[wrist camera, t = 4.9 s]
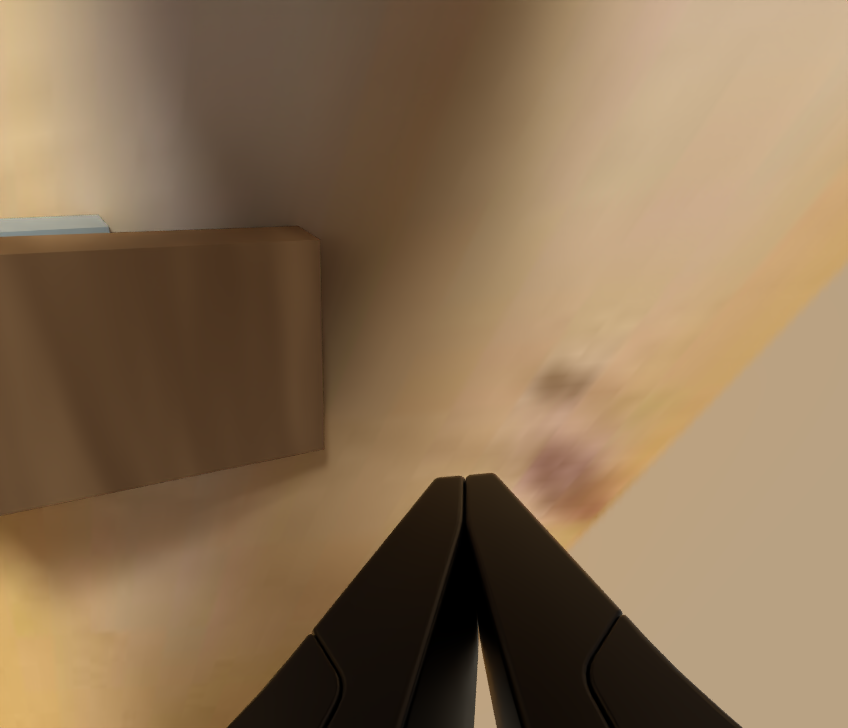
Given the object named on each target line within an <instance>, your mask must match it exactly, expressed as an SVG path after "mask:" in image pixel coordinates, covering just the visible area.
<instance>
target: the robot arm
mask: <svg viewBox="0 0 848 728" xmlns="http://www.w3.org/2000/svg"><path fill="white" fill-rule="evenodd" d="M478 627H479V634H480V641H481V647H482V653H483V659H484V664H485V669H486V674H487V679H488V685H489V689H490V695H491V700H492V704H493V710H494V715H495V720H496V725H497V728H742V727H741V726H740V725H739V724H737V723H736V722H735V721H734V720H733V719H732V718H731V717H729V716H728V715H727V714H726V713H725V712H724V711H723V710H721V709H720V708H719V707H718V706H717V705H716V704H715V703H714V702H713V701H711V700H710V699H709V698H708V697H707V696H706V695H705V694H704V693H703V692H701V690H699V689H698V688H697V687H696V686H695V685H694V684H693V683H692V682H691V681H689V680H688V679H687V678H686V677H685V676H684V675H683V674H682V673H681V672H680V671H679V670H678V669H677V668H676V667H675V666H674V665H673V664H672V663H671V662H670V661H669V660H668V659H667V658H666V657H665V656H664V655H663V654H662V653H661V652H660V651H659V650H658V649H657V648H656V647H655V646H654V645H653V644H652V643H651V642H650V641H649V640H648V639H647V638H646V637H645V636H644V635H643V634H642V632H640V630H639V629H638V628H637V627H636V626H635V625H634V624H633V623H632V621H631V620H630V619H629V618H628V617H627V616H626V615H622V611H621V610H620V609H619V608H618V607H617V606H616V604H615V603H614V602H613V601H612V600H611V599H610V598H609V597H608V596H607V595H606V594H605V593H604V591H603V590H601V588H600V587H599V586H598V585H597V584H596V583H595V582H594V581H593V580H592V578H591V577H590V576H589V575H588V574H587V573H586V572H585V571H584V570H583V569H582V568H581V567H580V566H579V564H578V563H577V562H576V561H575V560H574V559H573V558H572V557H571V556H570V555H569V554H568V552H567V551H566V550H565V549H564V548H563V547H562V546H561V545H560V544H559V543H558V542H557V540H556V539H555V538H554V537H553V536H552V535H551V534H550V533H549V532H548V531H547V530H546V529H545V527H544V526H543V525H542V524H541V523H540V522H539V521H538V520H537V519H536V518H535V517H534V516H533V514H532V513H531V512H530V511H529V510H528V509H527V508H526V507H525V506H524V505H523V504H522V503H521V501H520V500H519V499H518V498H517V497H516V496H515V495H514V494H513V493H512V492H511V491H510V490H509V488H508V487H507V486H506V485H505V484H504V483H503V482H502V481H501V480H500V479H499V478H498V477H497V475H495V474H493V473H485V474H474V475H469V476H467V477H466V480H465V479H464V477H462V476H451V477H439V478H436V479H435V480H434V481H433V482H432V483H431V484H430V486H429V487H428V488H427V489H426V491H425V492H424V493H423V494H422V495H421V497H420V498H419V499H418V500H417V502H416V503H415V504H414V505H413V507H412V508H411V509H410V510H409V512H408V513H407V514H406V515H405V516H404V518H403V519H402V520H401V521H400V523H399V524H398V525H397V526H396V528H395V529H394V530H393V531H392V533H391V534H390V535H389V536H388V537H387V539H386V540H385V541H384V542H383V544H382V545H381V546H380V547H379V549H378V550H377V551H376V552H375V554H374V555H373V556H372V557H371V558H370V560H369V561H368V562H367V563H366V565H365V566H364V567H363V568H362V570H361V571H360V572H359V573H358V575H357V576H356V577H355V578H354V579H353V581H352V582H351V583H350V584H349V586H348V587H347V588H346V589H345V591H344V592H343V593H342V594H341V596H340V597H339V598H338V599H337V600H336V602H335V603H334V604H333V605H332V607H331V608H330V609H329V610H328V612H327V613H326V614H325V615H324V617H323V618H322V619H321V620H320V621H319V623H318V624H317V625H316V626H315V628H314V629H313V631H312V634H313V635H312V634H310V635H308V636H307V637H306V638H305V640H304V641H303V642H302V643H301V645H300V646H299V647H298V648H297V649H296V651H295V652H294V653H293V654H292V656H291V657H290V658H289V659H288V660H287V662H286V663H285V664H284V665H283V666H282V667H281V669H280V670H279V671H278V672H277V673H276V674H275V676H274V677H273V678H272V679H271V680H270V681H269V683H268V684H267V685H266V686H265V687H264V688H263V690H262V691H261V692H260V693H259V694H258V695H257V696H256V697H255V698H254V699H253V700H252V701H251V703H250V704H249V705H248V706H247V707H246V708H245V709H244V710H243V711H242V712H241V713H240V714H239V715H238V716H237V717H236V718H235V719H234V721H233V722H232V723H231V724H230V725H229V726H228V727H227V728H474V715H475V698H476V681H477V664H478V663H477V662H478V639H479V638H478Z"/></svg>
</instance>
